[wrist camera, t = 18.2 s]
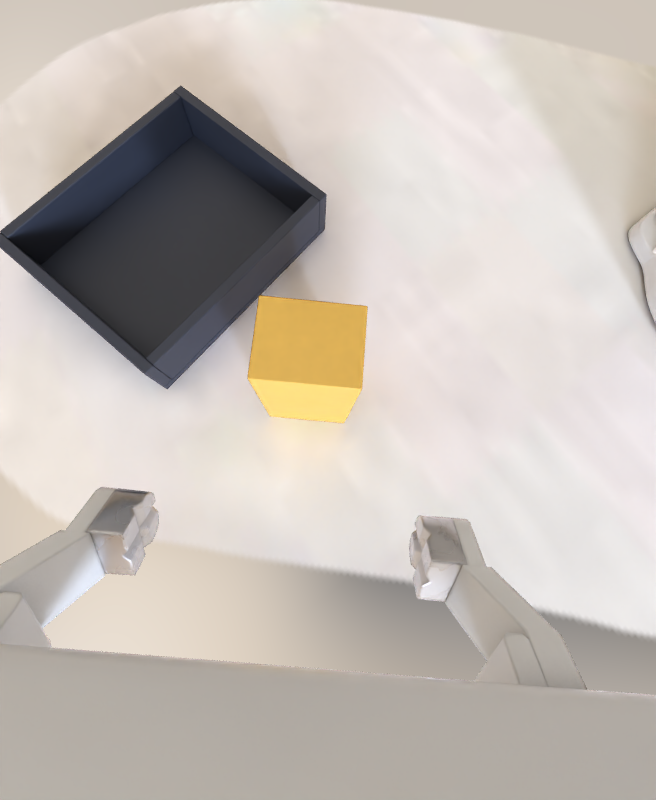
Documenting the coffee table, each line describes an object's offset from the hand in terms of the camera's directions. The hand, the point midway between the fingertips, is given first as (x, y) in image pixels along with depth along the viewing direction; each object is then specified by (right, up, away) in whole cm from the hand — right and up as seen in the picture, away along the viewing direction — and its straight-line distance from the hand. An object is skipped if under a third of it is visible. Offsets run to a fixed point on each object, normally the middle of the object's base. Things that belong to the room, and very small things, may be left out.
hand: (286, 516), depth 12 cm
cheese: (0, +4, +14) cm, 14 cm away
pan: (-9, +15, +16) cm, 23 cm away
